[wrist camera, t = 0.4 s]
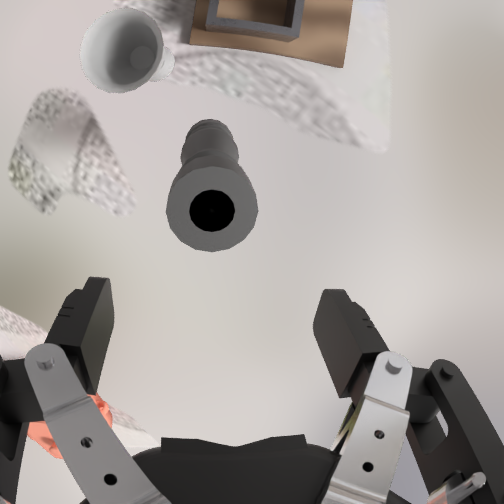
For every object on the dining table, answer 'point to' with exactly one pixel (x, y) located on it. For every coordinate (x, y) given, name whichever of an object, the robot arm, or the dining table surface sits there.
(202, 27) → the keeper plate
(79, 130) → the dining table surface
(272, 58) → the dining table surface
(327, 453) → the robot arm
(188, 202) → the candle holder
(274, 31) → the collar
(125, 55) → the chalice
